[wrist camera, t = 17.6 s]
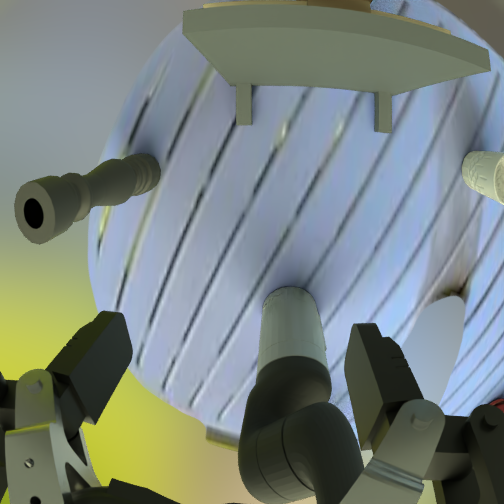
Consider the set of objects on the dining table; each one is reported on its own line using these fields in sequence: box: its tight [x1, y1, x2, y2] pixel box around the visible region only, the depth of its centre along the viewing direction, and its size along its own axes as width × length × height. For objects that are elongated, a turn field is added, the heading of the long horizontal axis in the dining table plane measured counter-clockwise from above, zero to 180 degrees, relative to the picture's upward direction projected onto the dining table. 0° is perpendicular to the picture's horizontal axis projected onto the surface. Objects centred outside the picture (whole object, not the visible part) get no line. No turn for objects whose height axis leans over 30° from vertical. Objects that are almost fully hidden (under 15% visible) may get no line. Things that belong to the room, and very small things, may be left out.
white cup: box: [462, 151, 504, 205], centre depth 34 cm, size 8×8×10 cm
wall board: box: [182, 0, 491, 133], centre depth 27 cm, size 12×24×24 cm, turn 90°
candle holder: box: [14, 153, 161, 244], centre depth 32 cm, size 6×6×25 cm
